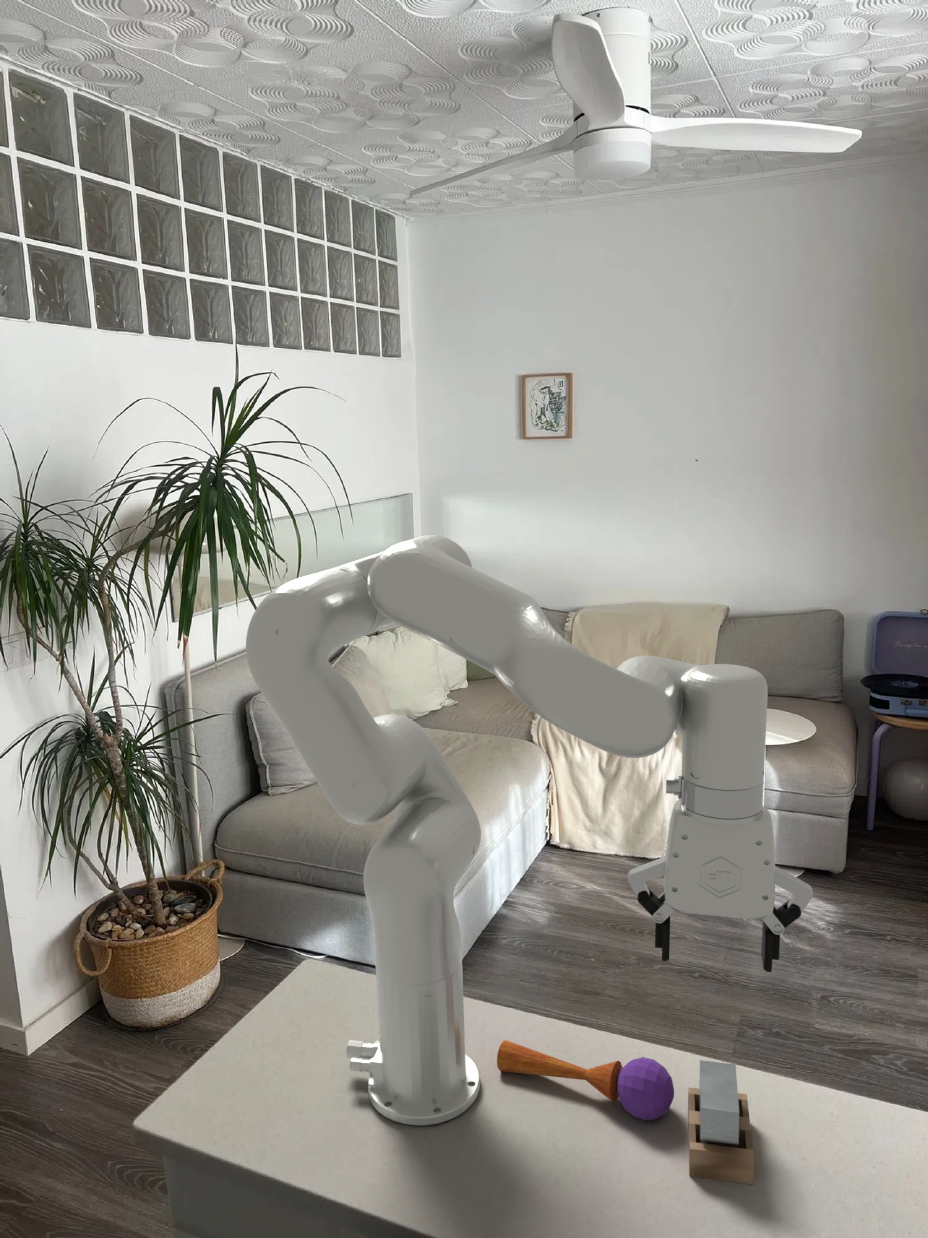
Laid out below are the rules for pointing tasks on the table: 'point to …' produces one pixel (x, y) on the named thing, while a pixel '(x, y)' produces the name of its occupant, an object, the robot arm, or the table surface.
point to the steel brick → (718, 1104)
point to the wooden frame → (720, 1147)
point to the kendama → (601, 1078)
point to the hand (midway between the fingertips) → (715, 959)
